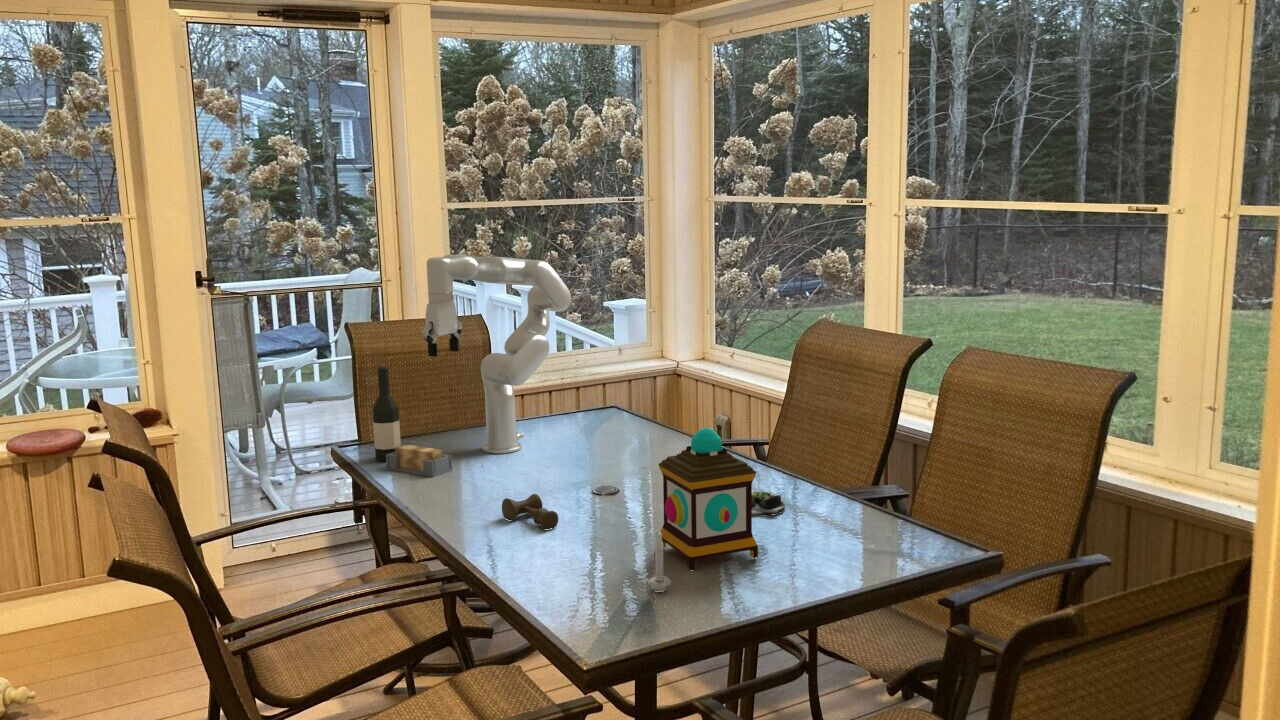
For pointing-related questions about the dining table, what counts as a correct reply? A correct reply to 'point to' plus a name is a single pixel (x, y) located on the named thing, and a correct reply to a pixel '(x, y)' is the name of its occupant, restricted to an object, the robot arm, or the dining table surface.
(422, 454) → the slat
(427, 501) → the dining table surface
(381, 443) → the wine bottle
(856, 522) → the dining table surface
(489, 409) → the robot arm
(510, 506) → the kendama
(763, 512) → the salad plate
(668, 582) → the screw
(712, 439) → the decorative lantern
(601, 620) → the dining table surface
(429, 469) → the end-cap rail
